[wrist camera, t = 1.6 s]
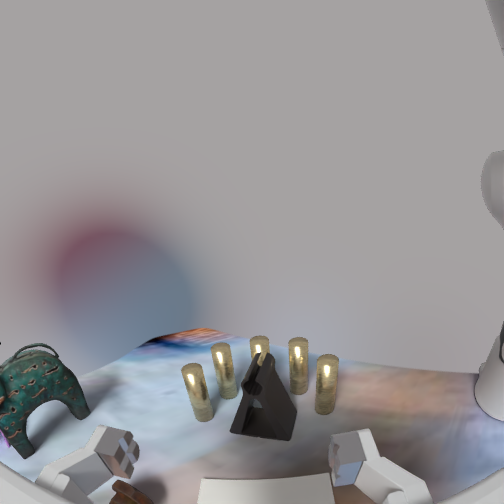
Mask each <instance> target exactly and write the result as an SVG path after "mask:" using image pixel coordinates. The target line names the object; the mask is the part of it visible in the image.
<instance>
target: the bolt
mask: <svg viewBox="0 0 504 504" xmlns="http://www.w3.org/2000/svg"><path fill="white" fill-rule="evenodd" d="M112 489H113V490H114V491H115V492H116V494H115V496H114V497H113V498H112V499H111V501H110V503H109V504H153V502H152V500H150V499H149V498H148V497H147V496H146V495H144V494H143V493H141V492H140V491H139V490H137V489H136V488H134V487H132V486H131V485H129V484H128V483H126V482H124V481H121V480H117V481H116V482H115V483H114V484H113V485H112Z"/></svg>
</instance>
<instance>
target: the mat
mask: <svg viewBox="0 0 504 504" xmlns="http://www.w3.org/2000/svg"><path fill="white" fill-rule="evenodd" d="M197 504H335V501H334V496H333V490H332V485H331V480H330V475H329V473H323V474H316V475H309V476H301V477H291V478H279V479H261V480H219V479H201V485H200V491H199V497H198V503H197Z"/></svg>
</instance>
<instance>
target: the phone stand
mask: <svg viewBox="0 0 504 504" xmlns="http://www.w3.org/2000/svg"><path fill="white" fill-rule="evenodd" d="M260 355H261V352H258V353H257V354H256V355H255V356H254V358H253V360H252V363H251V365H250V367H249V369H248V371H247V373H246V375H245V377H244V379H243V381H242V383H241V388H242V390H243V397H242V400H241V402H240V405H239V408H238V410H237V413H236V416H235V418H234V421H233V424H232V426H231V429H230V432H231V433H234V434H240V435H246V436H252V437H260V438H267V439H275V440H284V441H289V440H290V438H291V434H292V430H293V426H294V422H295V417H296V413H297V411H296V409H295V407H294V405H293V403H292V401H291V399H290V398H289V396H288V394H287V392H286V390H285V388H284V386H283V384H282V382H281V380H280V378H279V376H278V375H277V373H276V370H275V359H274V357H273V356H272V355H271V354H270V353H268V352H267V354H266V356H265V358H264V361H263V363H262V366H259V364H258V363H257V362H258V360H259V357H260ZM254 399H257V400H258V401H260V403H261V405H262V407H263V408H255V407H253V402H254Z"/></svg>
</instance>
